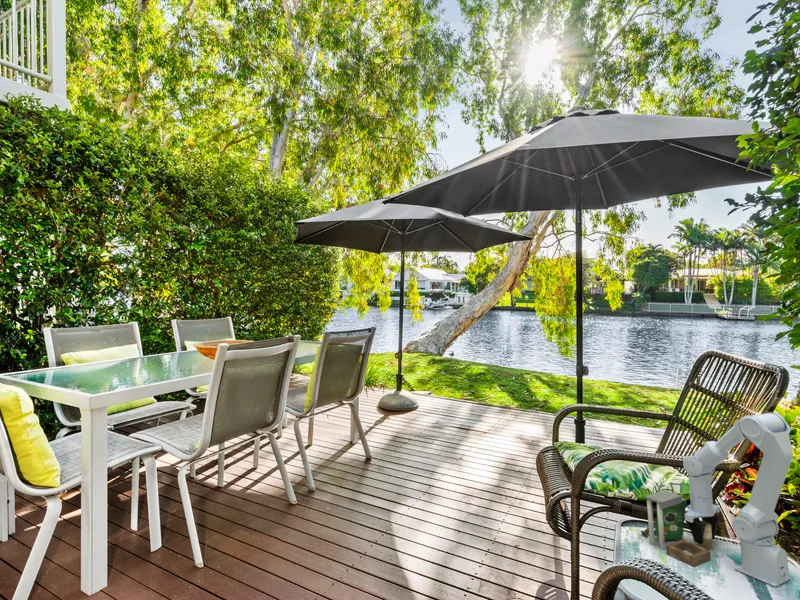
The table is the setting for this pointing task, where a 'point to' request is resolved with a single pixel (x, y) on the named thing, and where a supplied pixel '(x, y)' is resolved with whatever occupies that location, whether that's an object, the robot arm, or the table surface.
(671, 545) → the socket block
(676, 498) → the miniature side table
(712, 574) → the table surface
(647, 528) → the wooden post with brackets
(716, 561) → the table surface
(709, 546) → the peg
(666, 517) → the coffee box
